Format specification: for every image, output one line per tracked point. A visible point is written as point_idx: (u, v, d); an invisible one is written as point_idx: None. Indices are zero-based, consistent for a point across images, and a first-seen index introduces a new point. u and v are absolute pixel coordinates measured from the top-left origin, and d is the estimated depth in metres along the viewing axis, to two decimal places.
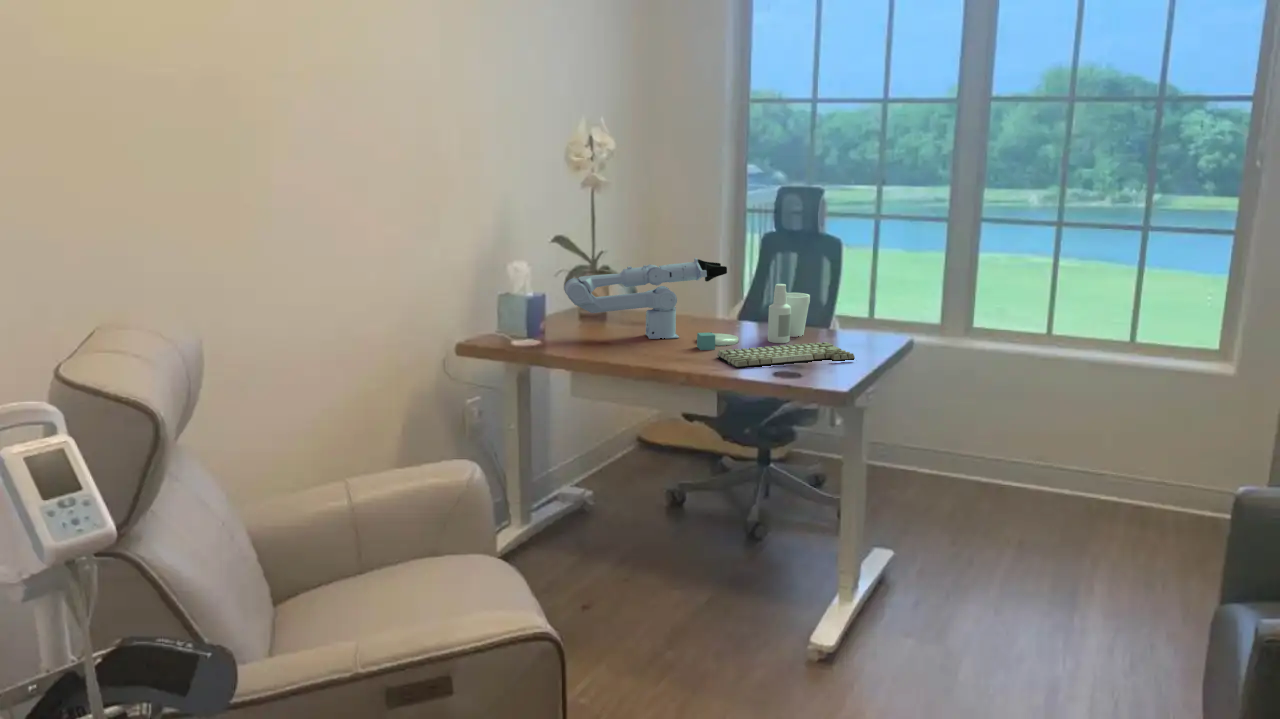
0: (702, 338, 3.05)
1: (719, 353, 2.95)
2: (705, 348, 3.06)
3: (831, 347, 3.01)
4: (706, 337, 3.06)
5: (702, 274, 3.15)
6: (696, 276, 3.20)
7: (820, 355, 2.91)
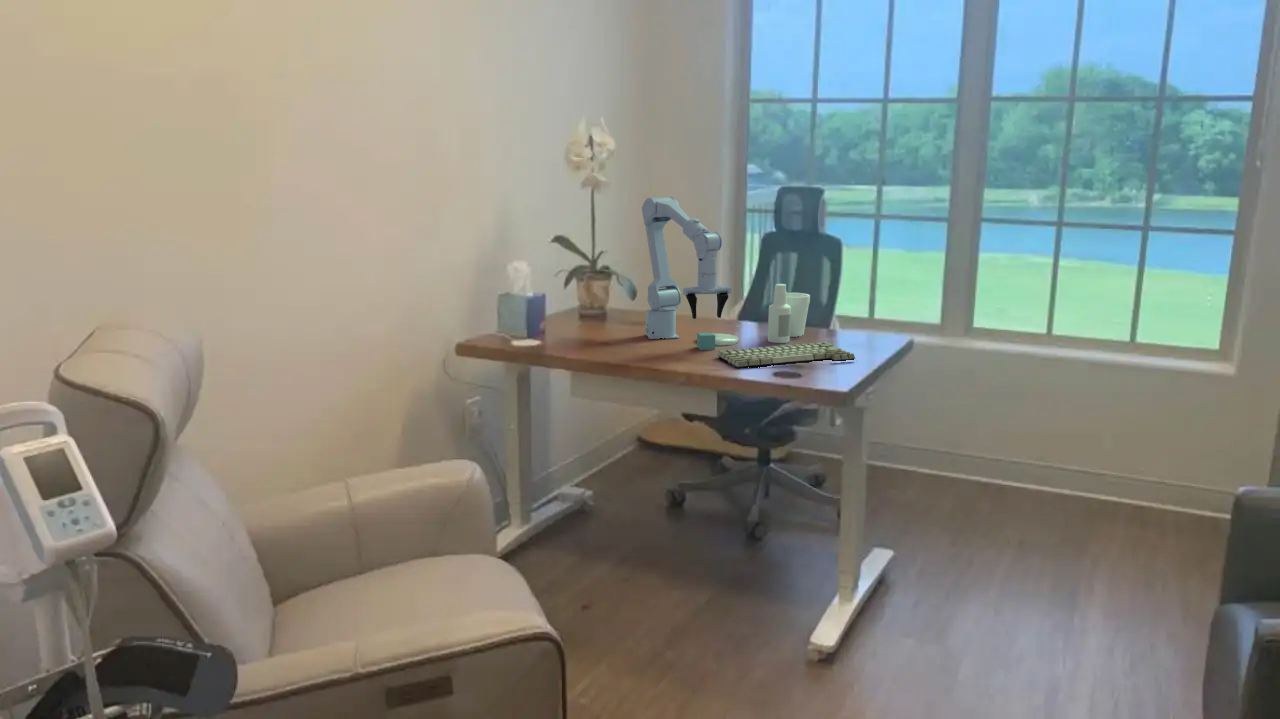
0: (702, 338, 3.05)
1: (719, 353, 2.95)
2: (705, 348, 3.06)
3: (831, 347, 3.01)
4: (706, 337, 3.06)
5: (683, 290, 3.03)
6: None
7: (820, 355, 2.91)
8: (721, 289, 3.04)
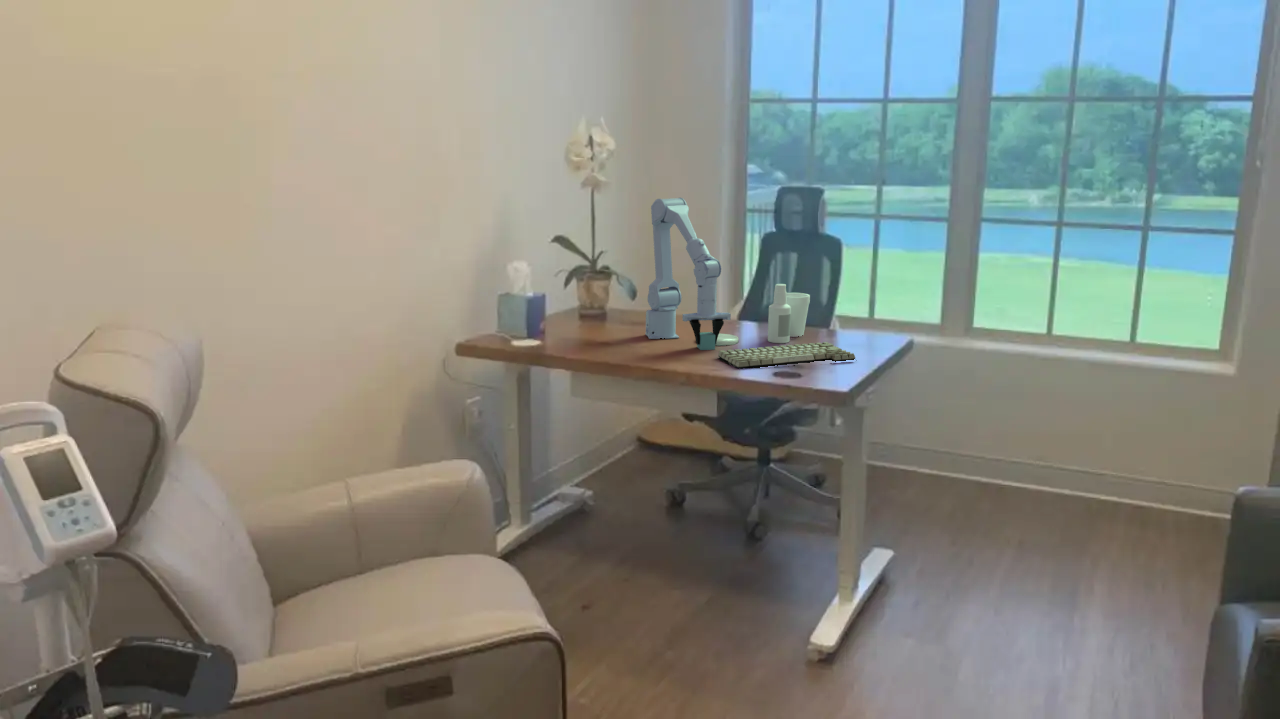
0: (702, 338, 3.05)
1: (720, 353, 2.94)
2: (705, 348, 3.06)
3: (831, 347, 3.00)
4: (706, 337, 3.06)
5: (683, 316, 3.05)
6: None
7: (821, 355, 2.91)
8: (720, 315, 3.05)
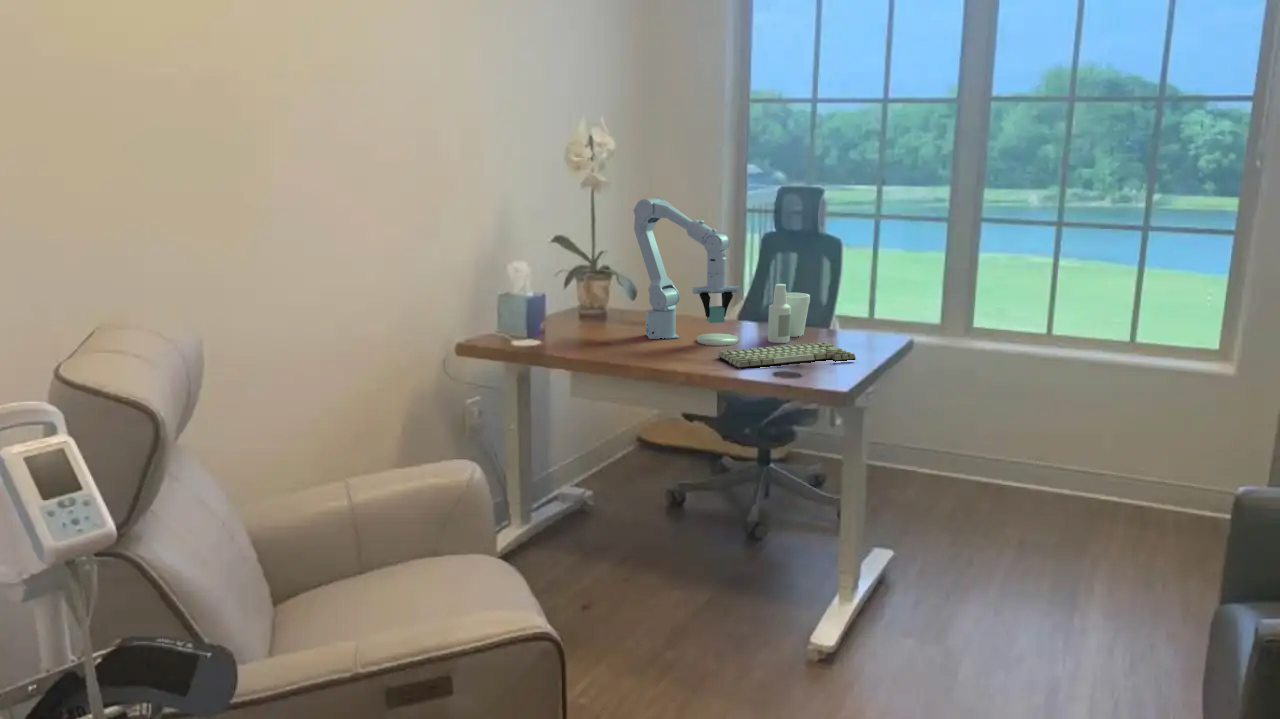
0: (711, 311, 3.11)
1: (720, 354, 2.94)
2: (714, 320, 3.12)
3: (831, 347, 3.00)
4: (715, 310, 3.11)
5: (693, 289, 3.11)
6: None
7: (821, 355, 2.91)
8: (730, 288, 3.11)
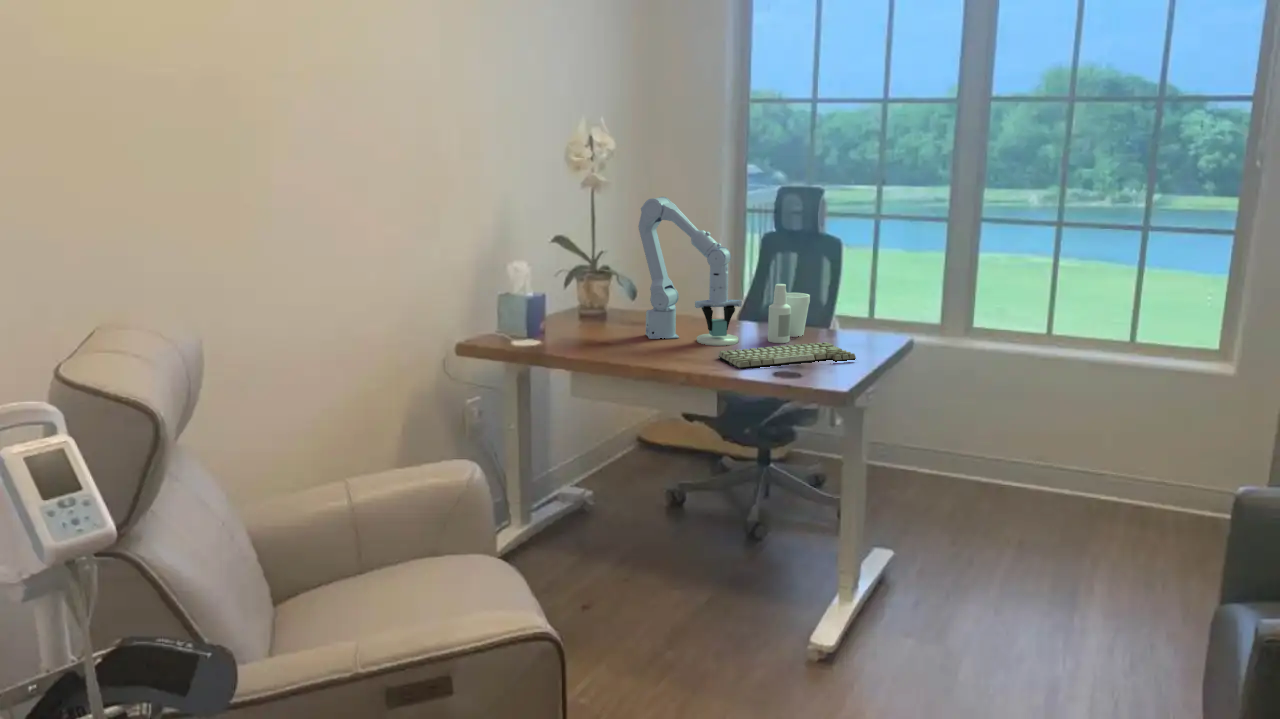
0: (714, 324, 3.14)
1: (720, 354, 2.94)
2: (717, 334, 3.15)
3: (831, 347, 3.00)
4: (718, 323, 3.15)
5: (695, 303, 3.14)
6: None
7: (821, 355, 2.91)
8: (732, 302, 3.14)
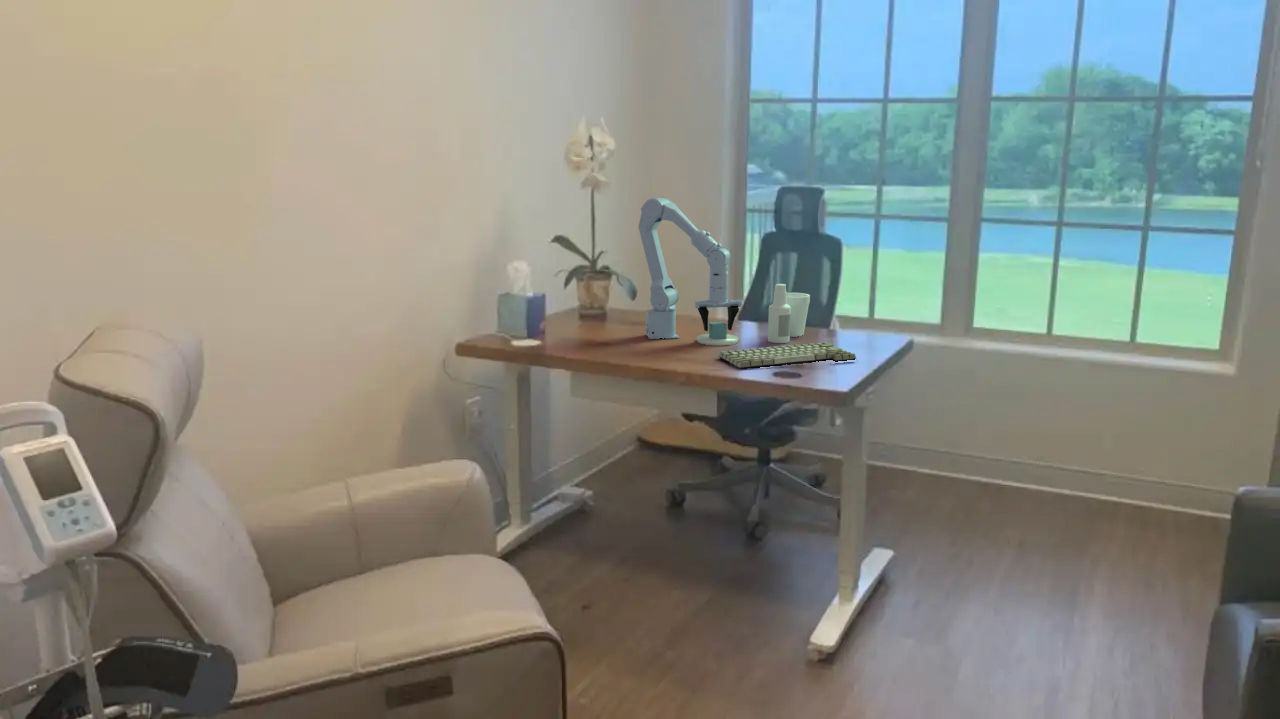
0: (714, 327, 3.15)
1: (720, 354, 2.94)
2: (717, 337, 3.16)
3: (832, 347, 3.00)
4: (718, 326, 3.15)
5: (695, 303, 3.14)
6: None
7: (822, 355, 2.91)
8: (732, 302, 3.15)
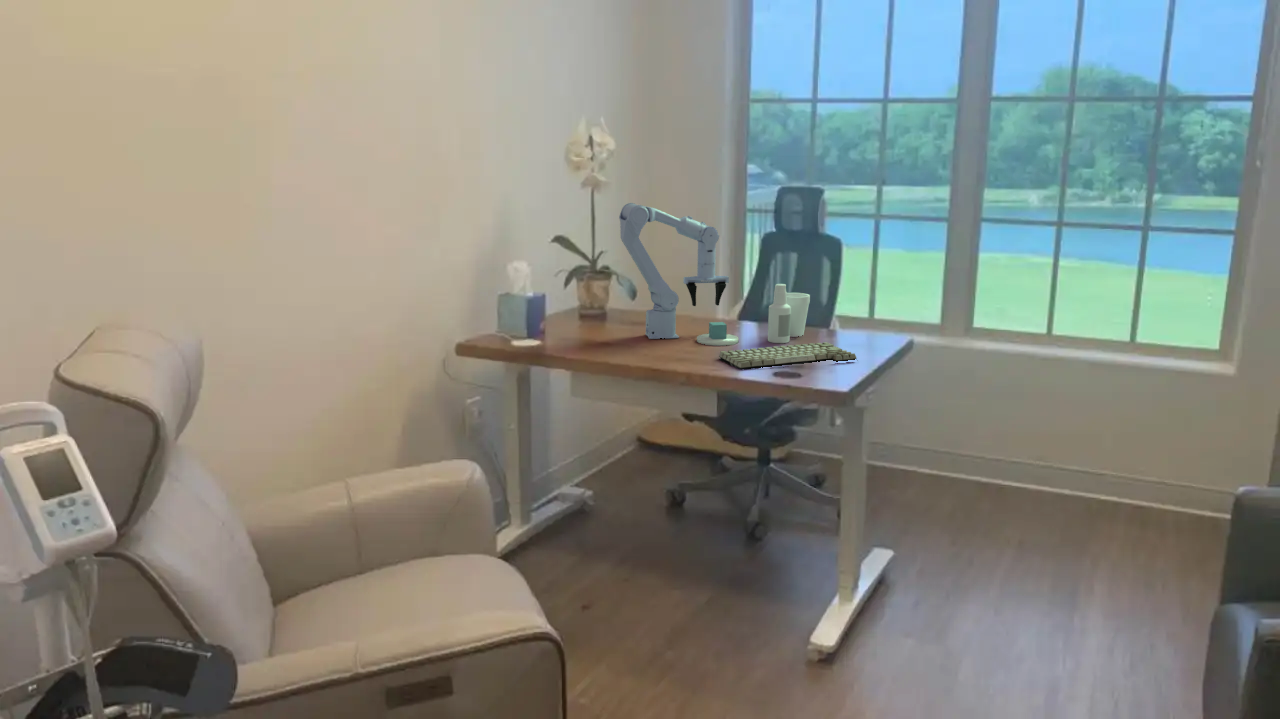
0: (714, 327, 3.15)
1: (721, 354, 2.93)
2: (717, 337, 3.16)
3: (832, 347, 3.00)
4: (718, 326, 3.15)
5: (684, 279, 3.24)
6: None
7: (822, 355, 2.90)
8: (719, 278, 3.24)
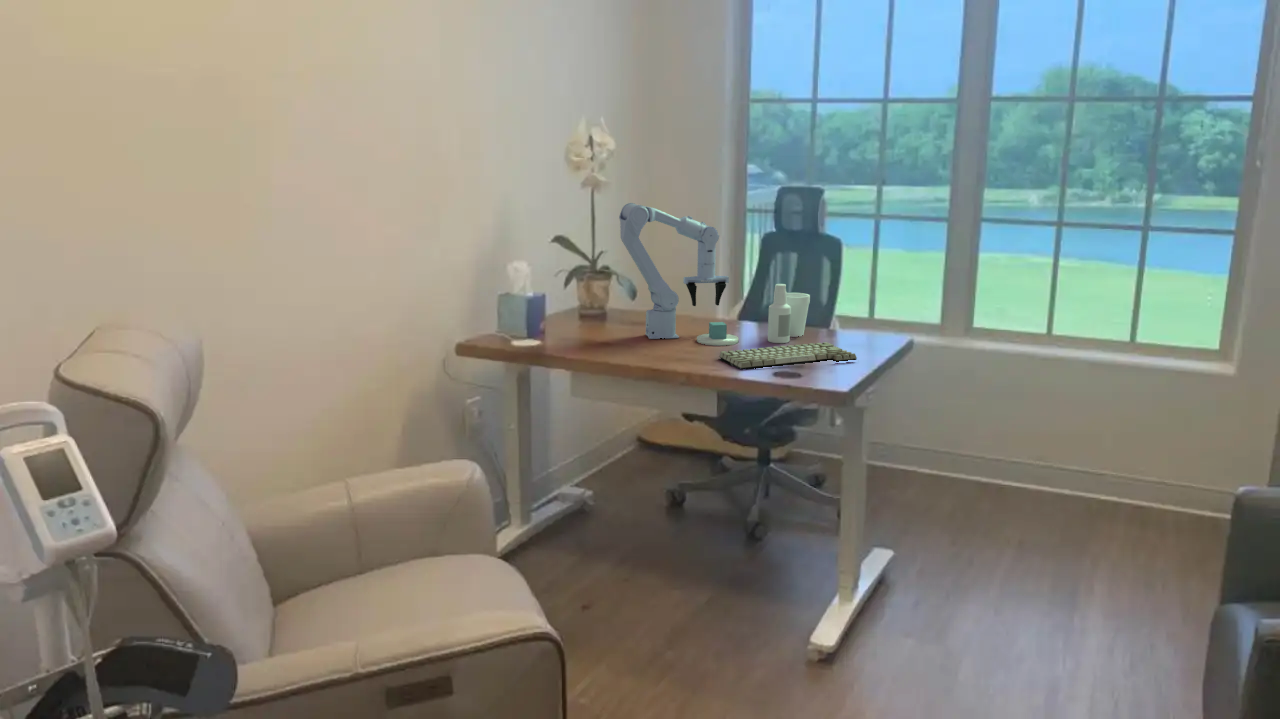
0: (714, 327, 3.15)
1: (721, 354, 2.93)
2: (717, 337, 3.16)
3: (832, 347, 3.00)
4: (718, 326, 3.15)
5: (684, 279, 3.24)
6: None
7: (822, 355, 2.90)
8: (719, 278, 3.24)
